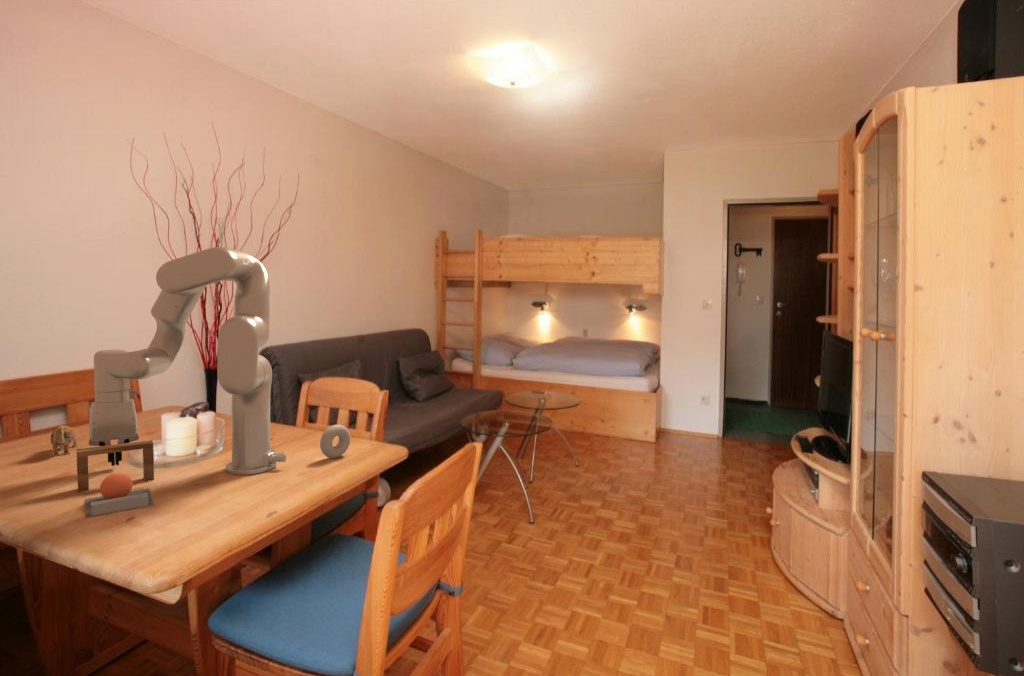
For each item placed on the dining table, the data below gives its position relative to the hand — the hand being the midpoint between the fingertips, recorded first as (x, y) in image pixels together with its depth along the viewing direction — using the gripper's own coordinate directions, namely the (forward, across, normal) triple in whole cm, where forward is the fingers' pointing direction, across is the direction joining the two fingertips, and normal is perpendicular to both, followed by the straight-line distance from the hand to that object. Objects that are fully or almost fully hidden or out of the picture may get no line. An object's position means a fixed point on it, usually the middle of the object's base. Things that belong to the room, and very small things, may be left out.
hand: (115, 464), depth 141 cm
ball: (-2, 0, +24) cm, 24 cm away
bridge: (+2, 0, +13) cm, 13 cm away
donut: (+2, -52, +21) cm, 56 cm away
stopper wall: (+2, 0, +32) cm, 32 cm away
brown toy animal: (+2, +11, -26) cm, 28 cm away
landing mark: (+2, 0, +27) cm, 27 cm away
